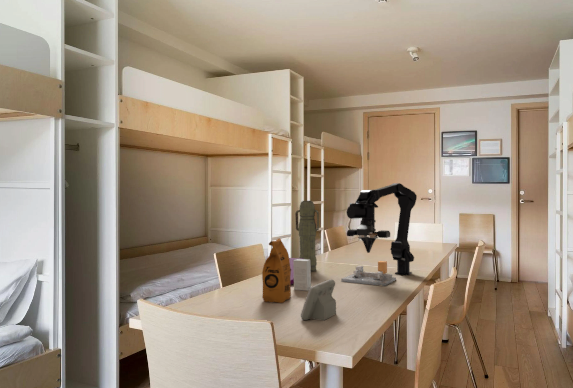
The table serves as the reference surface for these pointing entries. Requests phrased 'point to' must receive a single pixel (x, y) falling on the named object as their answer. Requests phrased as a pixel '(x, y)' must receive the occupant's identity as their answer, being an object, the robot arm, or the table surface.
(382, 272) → the slider
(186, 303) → the table surface
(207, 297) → the table surface
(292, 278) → the purple package
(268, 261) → the coffee package
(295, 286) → the skincare box
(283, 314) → the table surface
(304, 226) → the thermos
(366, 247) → the robot arm
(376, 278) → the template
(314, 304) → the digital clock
